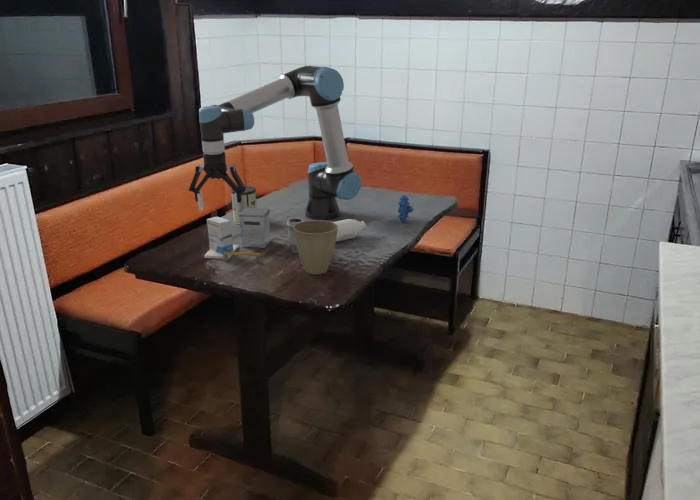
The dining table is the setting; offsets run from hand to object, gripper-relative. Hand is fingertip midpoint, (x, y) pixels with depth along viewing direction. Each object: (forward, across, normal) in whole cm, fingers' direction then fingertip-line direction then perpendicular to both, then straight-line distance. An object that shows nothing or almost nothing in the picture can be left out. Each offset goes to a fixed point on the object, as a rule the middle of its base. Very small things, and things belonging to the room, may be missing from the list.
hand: (219, 210), depth 222 cm
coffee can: (+17, +2, -37) cm, 41 cm away
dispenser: (+16, -10, -3) cm, 19 cm away
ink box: (+15, +1, 0) cm, 15 cm away
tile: (+16, 0, 0) cm, 16 cm away
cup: (+17, -27, -4) cm, 32 cm away
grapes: (+18, -65, -44) cm, 81 cm away
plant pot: (+17, -37, +13) cm, 43 cm away
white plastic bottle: (+17, -41, -19) cm, 49 cm away
